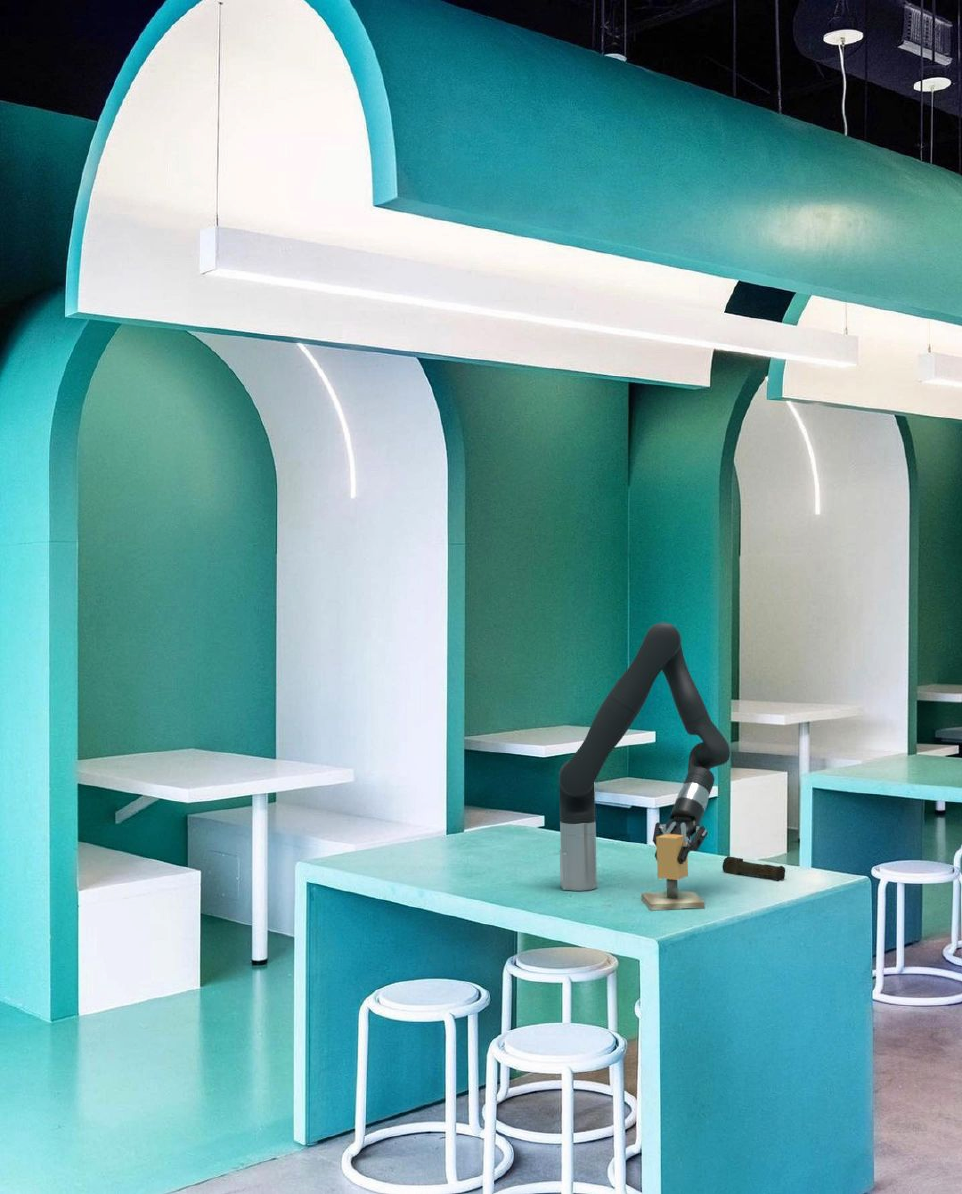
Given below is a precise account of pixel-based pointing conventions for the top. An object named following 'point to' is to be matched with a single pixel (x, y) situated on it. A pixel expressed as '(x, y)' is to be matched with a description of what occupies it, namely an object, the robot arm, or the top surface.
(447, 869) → the top surface
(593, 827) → the robot arm
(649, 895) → the post board
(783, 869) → the hand tool
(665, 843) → the tall orange pillar
